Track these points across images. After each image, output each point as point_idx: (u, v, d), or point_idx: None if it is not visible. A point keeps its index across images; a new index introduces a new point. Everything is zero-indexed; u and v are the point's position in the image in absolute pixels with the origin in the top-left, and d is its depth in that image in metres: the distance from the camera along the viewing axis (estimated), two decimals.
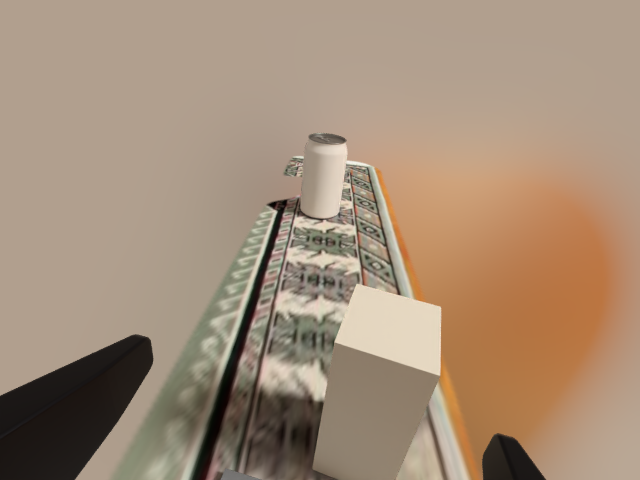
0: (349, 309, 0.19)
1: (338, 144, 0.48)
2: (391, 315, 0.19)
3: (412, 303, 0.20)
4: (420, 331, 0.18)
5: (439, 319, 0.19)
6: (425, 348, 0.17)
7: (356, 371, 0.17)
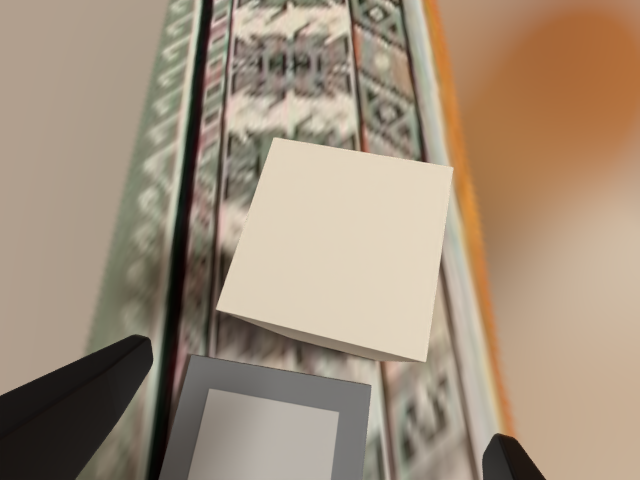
0: (252, 214, 0.09)
1: None
2: (340, 213, 0.09)
3: (390, 168, 0.09)
4: (397, 246, 0.08)
5: (444, 204, 0.09)
6: (403, 292, 0.08)
7: (279, 328, 0.09)
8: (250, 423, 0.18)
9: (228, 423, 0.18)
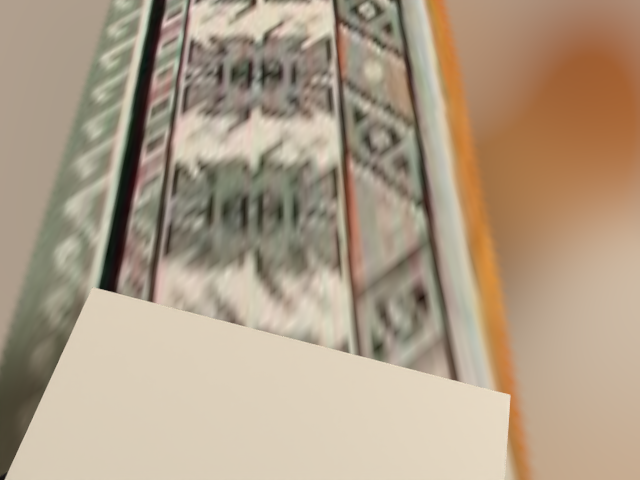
0: None
1: None
2: None
3: (352, 389, 0.04)
4: None
5: None
6: None
7: None
8: None
9: None
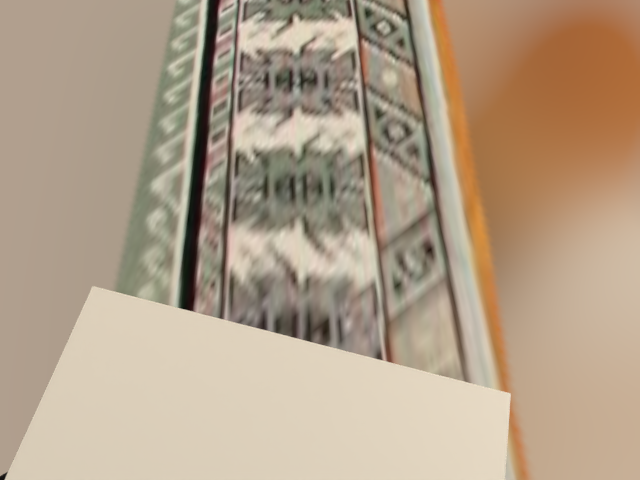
0: None
1: None
2: None
3: (352, 389, 0.04)
4: None
5: None
6: None
7: None
8: None
9: None
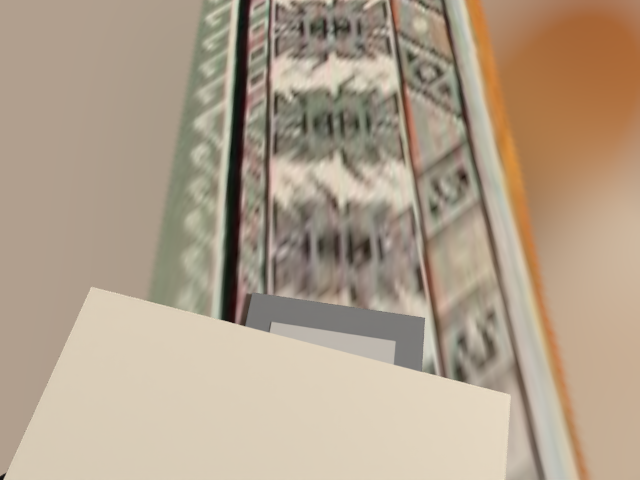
0: None
1: None
2: None
3: (352, 390, 0.04)
4: None
5: None
6: None
7: None
8: None
9: None
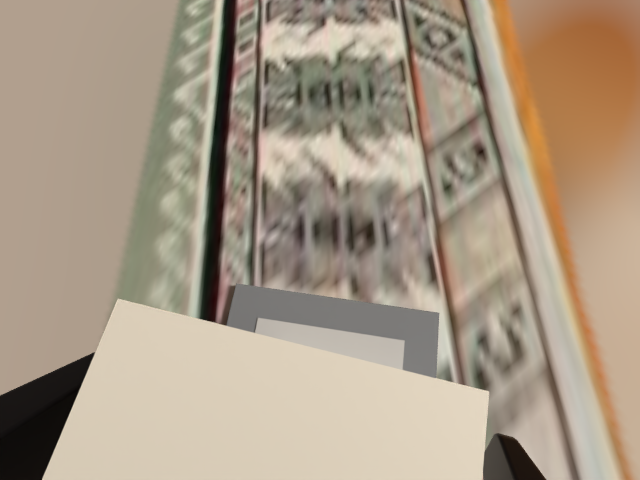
0: None
1: None
2: None
3: (350, 388, 0.04)
4: None
5: None
6: None
7: None
8: None
9: None
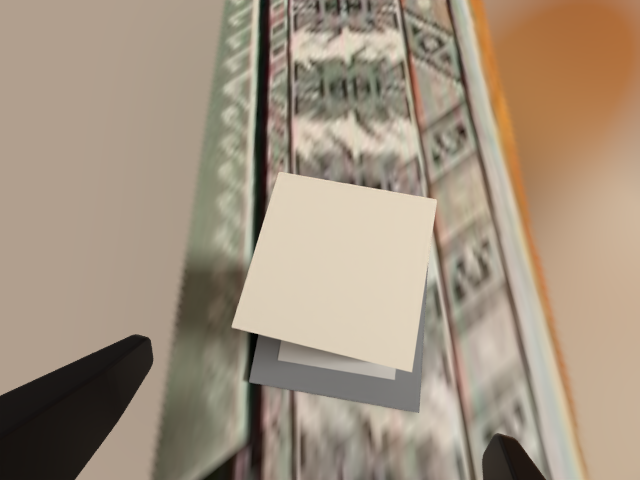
0: (261, 242, 0.10)
1: None
2: (338, 241, 0.10)
3: (382, 200, 0.10)
4: (388, 271, 0.10)
5: (429, 233, 0.10)
6: (393, 311, 0.09)
7: None
8: None
9: None
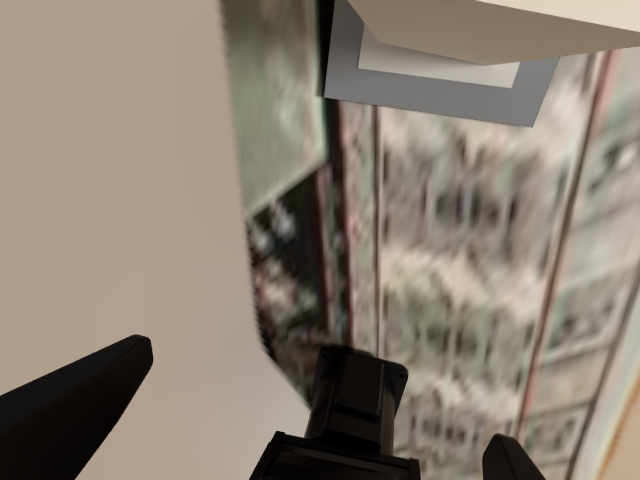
0: None
1: None
2: None
3: None
4: None
5: None
6: None
7: (410, 7, 0.06)
8: None
9: None
